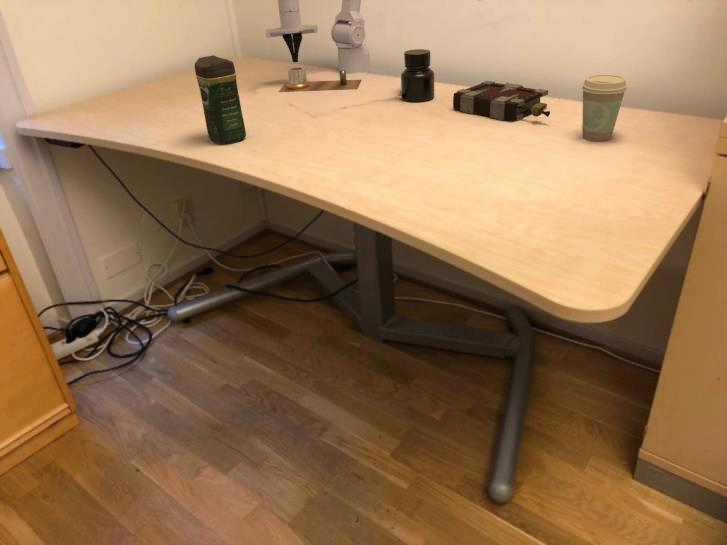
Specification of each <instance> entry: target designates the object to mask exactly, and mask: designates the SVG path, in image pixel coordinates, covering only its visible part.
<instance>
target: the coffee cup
mask: <svg viewBox="0 0 727 545" xmlns="http://www.w3.org/2000/svg"><path fill="white" fill-rule="evenodd" d="M627 87H628V86H627V82H626V78H625V77H623V76H621V75H615V74H594V75H589V76H587V77H586V78H585V80H584V83H582V87H581V90H582V122H581V124H582V126H581V127H582V131H581V132H582V134H581V136H582V138H583V139H585V140H588V141H593V142H604V141H605V142H606V141H609V140H611V139H612V136H613V133H614V131H615V126H616V122H617V120H618V117H619V113H620V112H619V111H620V109H621V105H622V102H623V98H624V95H625V92H626V91H628V88H627Z"/></svg>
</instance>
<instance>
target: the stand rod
mask: <svg viewBox="0 0 727 545" xmlns="http://www.w3.org/2000/svg"><path fill="white" fill-rule="evenodd" d="M339 80H340V84H341V86H344V85H347V82H346V80H347V74H346V70H340V71H339Z"/></svg>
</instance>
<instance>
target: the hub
mask: <svg viewBox="0 0 727 545" xmlns="http://www.w3.org/2000/svg"><path fill="white" fill-rule="evenodd" d="M293 70H299V69H293ZM287 82H288V83H286V82H285V83H286V88H287V89H292V90H296V89H303V88H307V87H309V82H310V81H309V80H307V83H306V84H302V85H290V84H289V81H287Z"/></svg>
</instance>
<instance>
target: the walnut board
mask: <svg viewBox="0 0 727 545" xmlns="http://www.w3.org/2000/svg"><path fill="white" fill-rule="evenodd" d="M288 82H289V81H287V82H285V83H284V84H283V86H281V88H280V89H279V90H278V91H277V92H278V93H290V92H291V93H293V92H296V93H297V92H317V91H318V92H319V91H348V90H352V91H353V90H358V89H359V87H360V84H361V82H362V79H346V82H347V85H344V86H341V84H340V79H339V80H318V81H316V80H314V81H309V87H307V88H303V89H296V90H292V89H287V88H286V83H288Z"/></svg>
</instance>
